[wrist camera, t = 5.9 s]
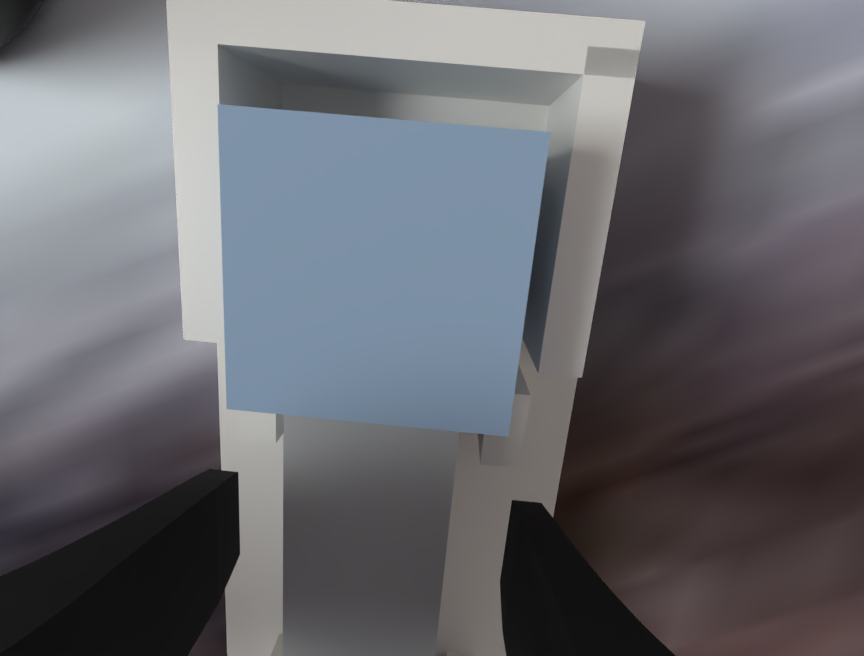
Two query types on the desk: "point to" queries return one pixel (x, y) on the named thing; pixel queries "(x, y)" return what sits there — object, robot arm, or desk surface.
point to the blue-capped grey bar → (372, 344)
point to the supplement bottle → (15, 17)
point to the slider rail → (429, 102)
